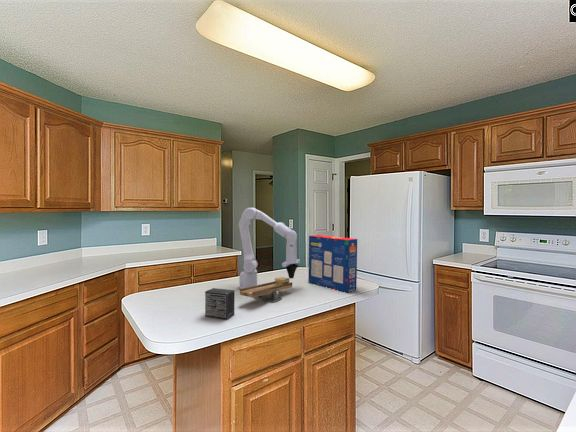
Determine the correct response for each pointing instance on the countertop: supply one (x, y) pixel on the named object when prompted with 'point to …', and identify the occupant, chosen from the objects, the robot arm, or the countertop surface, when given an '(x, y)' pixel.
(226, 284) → the countertop surface
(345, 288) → the blue game box
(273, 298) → the fulcrum
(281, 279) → the block
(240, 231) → the robot arm
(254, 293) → the beam
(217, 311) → the small box
